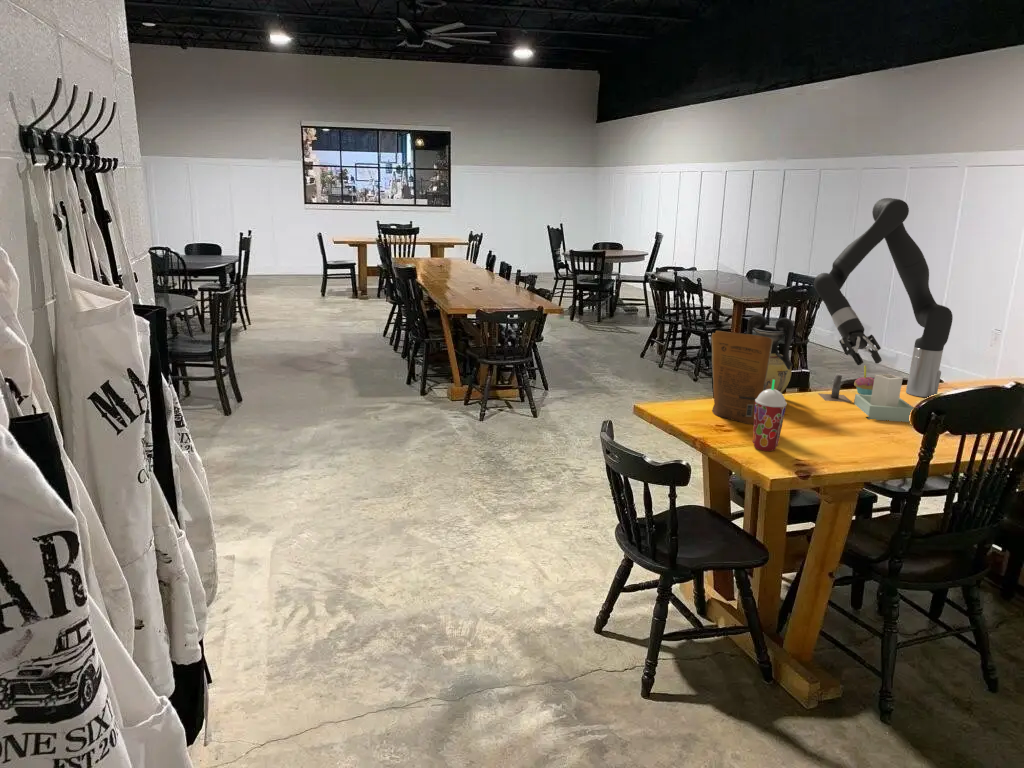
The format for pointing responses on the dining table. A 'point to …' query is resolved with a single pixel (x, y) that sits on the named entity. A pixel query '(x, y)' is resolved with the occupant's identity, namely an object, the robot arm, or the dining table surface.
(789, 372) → the amphora
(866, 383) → the cupcake
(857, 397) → the tray
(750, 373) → the pancake mix bag
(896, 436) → the dining table surface
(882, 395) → the sleeve
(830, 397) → the base
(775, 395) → the smoothie
